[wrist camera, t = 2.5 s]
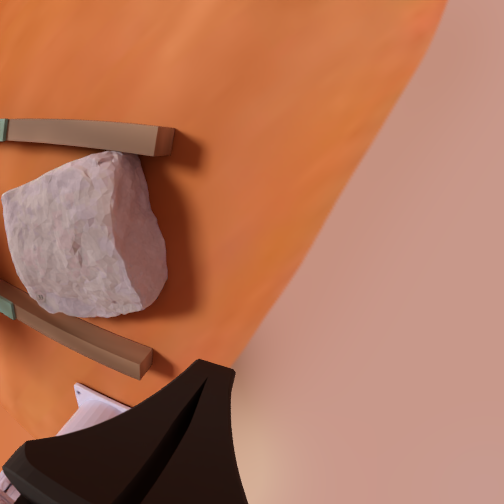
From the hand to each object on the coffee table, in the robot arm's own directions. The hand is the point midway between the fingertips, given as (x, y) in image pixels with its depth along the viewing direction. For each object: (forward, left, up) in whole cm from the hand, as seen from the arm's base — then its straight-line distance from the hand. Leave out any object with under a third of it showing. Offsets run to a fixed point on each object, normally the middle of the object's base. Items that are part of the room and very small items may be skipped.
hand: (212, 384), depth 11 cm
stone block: (0, +12, -9) cm, 14 cm away
